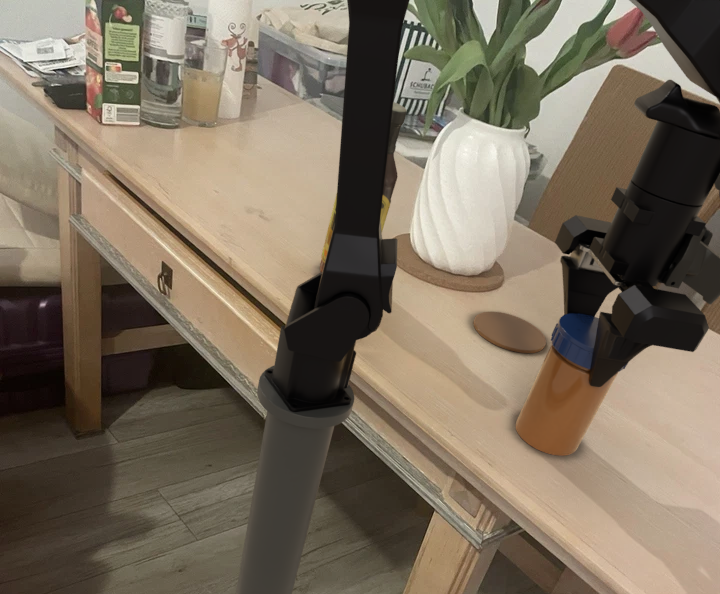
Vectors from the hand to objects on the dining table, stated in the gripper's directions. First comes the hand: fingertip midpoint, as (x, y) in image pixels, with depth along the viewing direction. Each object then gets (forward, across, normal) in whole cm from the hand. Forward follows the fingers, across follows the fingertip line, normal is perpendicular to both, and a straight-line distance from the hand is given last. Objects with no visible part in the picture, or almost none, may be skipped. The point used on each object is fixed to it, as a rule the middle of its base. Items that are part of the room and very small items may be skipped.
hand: (581, 364), depth 63 cm
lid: (-3, 0, 0) cm, 3 cm away
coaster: (+8, +21, -1) cm, 22 cm away
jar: (+8, 0, 0) cm, 8 cm away
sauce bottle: (+8, +28, +19) cm, 34 cm away
